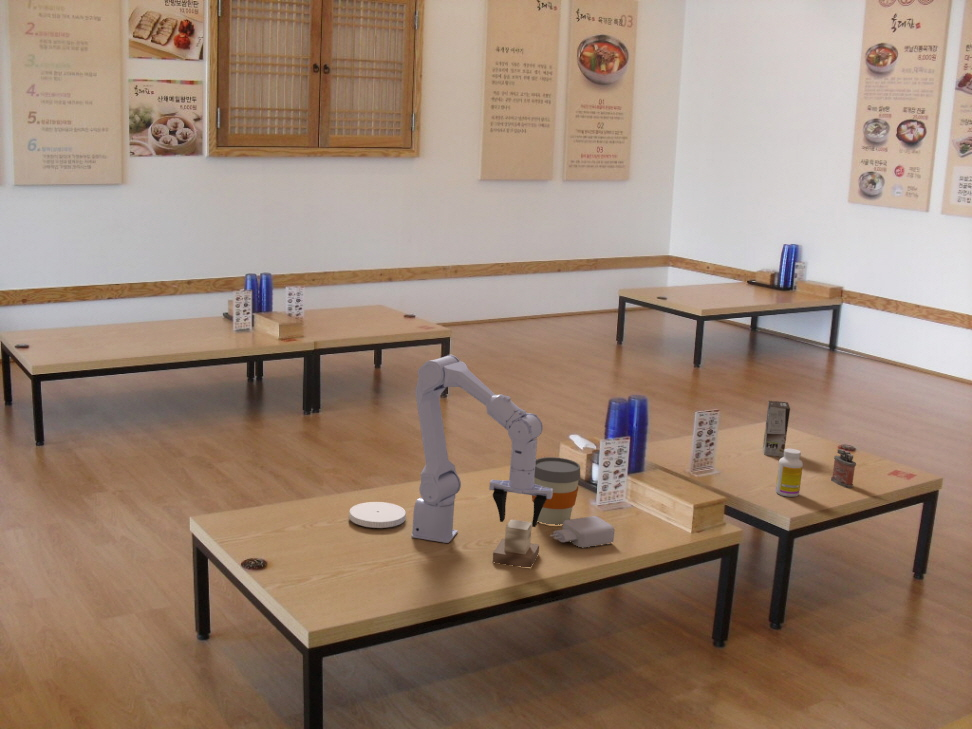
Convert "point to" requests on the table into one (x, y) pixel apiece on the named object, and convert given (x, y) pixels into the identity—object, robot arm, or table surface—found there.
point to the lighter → (843, 469)
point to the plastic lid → (377, 514)
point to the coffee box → (776, 428)
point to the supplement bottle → (789, 473)
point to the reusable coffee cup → (557, 487)
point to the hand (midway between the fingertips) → (518, 523)
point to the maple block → (518, 536)
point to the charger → (585, 532)
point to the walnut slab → (515, 555)
